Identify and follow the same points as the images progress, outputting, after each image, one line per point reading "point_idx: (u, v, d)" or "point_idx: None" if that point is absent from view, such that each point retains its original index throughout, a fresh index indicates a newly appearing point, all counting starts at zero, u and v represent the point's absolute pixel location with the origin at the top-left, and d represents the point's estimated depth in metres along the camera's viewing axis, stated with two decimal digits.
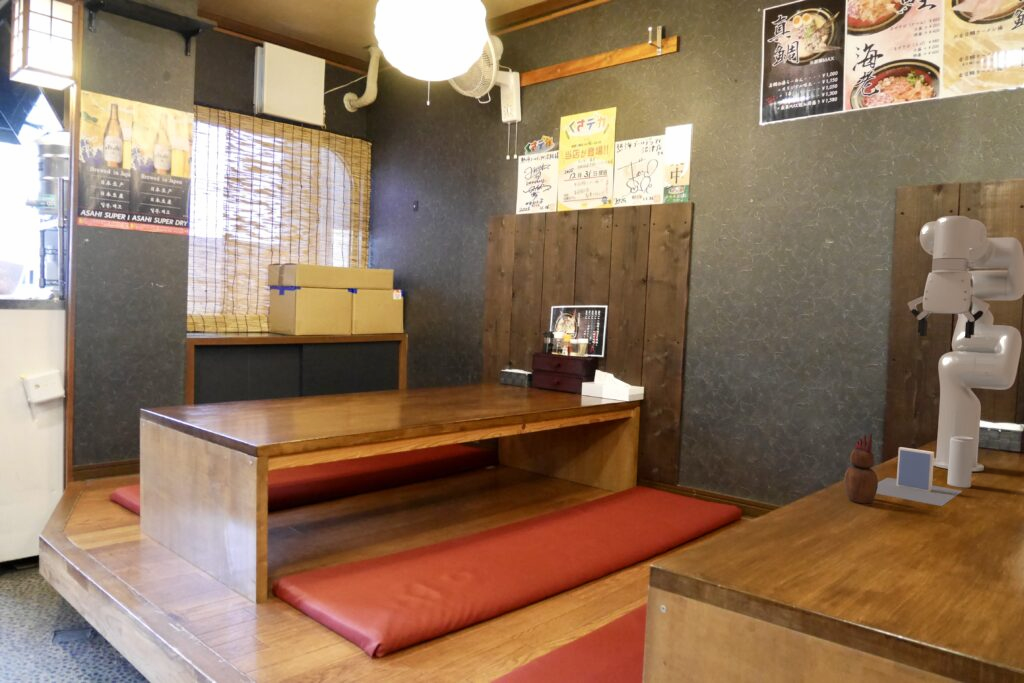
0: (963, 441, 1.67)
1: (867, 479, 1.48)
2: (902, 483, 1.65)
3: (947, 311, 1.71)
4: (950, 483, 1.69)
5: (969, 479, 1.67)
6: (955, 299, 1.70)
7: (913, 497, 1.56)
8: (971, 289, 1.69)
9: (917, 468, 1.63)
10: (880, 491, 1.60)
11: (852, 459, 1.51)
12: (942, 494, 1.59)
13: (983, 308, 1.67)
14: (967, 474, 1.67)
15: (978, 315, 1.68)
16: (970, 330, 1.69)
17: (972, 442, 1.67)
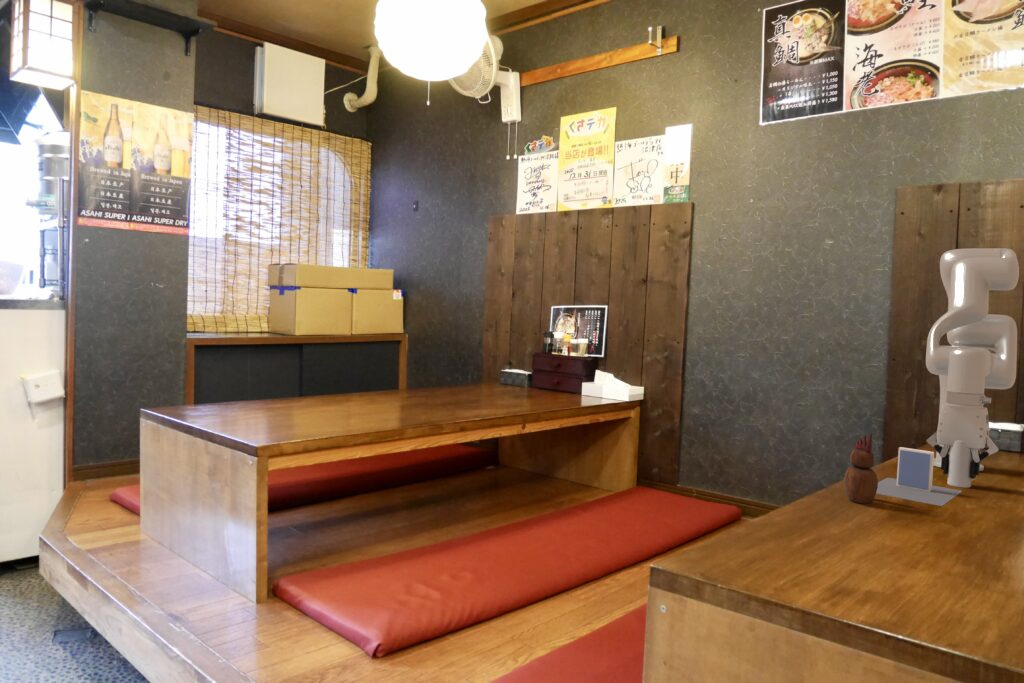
0: None
1: (867, 479, 1.48)
2: (902, 483, 1.65)
3: None
4: (950, 483, 1.69)
5: (969, 479, 1.67)
6: (970, 435, 1.66)
7: (913, 497, 1.56)
8: (987, 425, 1.65)
9: (917, 468, 1.63)
10: (880, 491, 1.60)
11: (852, 459, 1.51)
12: (942, 494, 1.59)
13: (990, 451, 1.64)
14: (967, 474, 1.67)
15: (983, 456, 1.65)
16: (975, 470, 1.66)
17: None
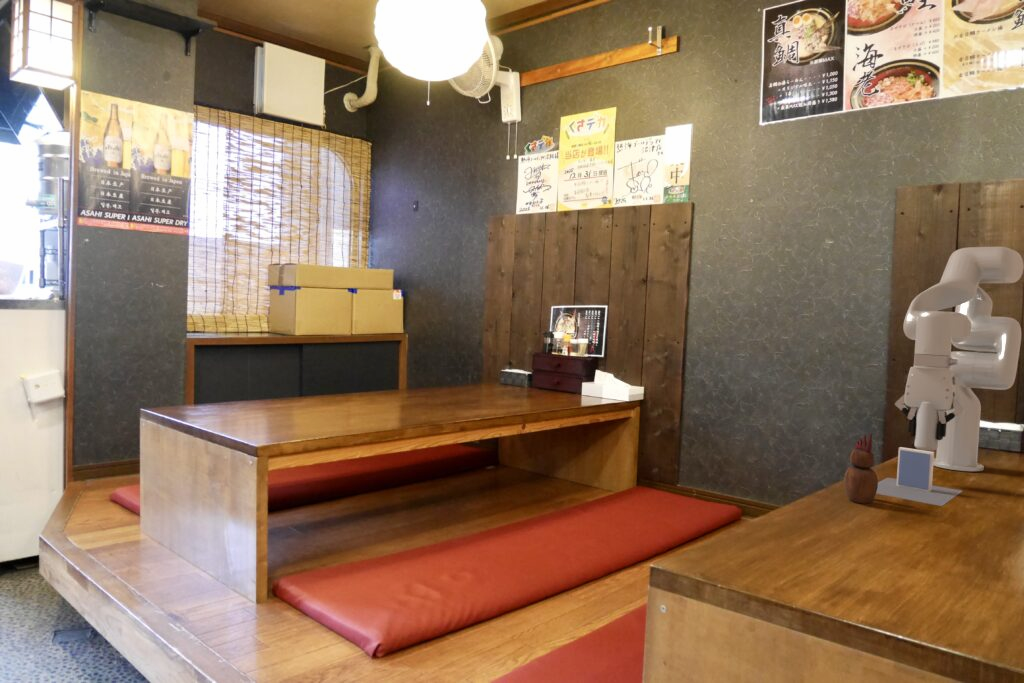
0: (930, 403, 1.68)
1: (867, 479, 1.48)
2: (902, 483, 1.65)
3: None
4: (917, 445, 1.70)
5: (935, 441, 1.68)
6: (937, 396, 1.67)
7: (913, 497, 1.56)
8: (953, 387, 1.66)
9: (917, 468, 1.63)
10: (880, 491, 1.60)
11: (852, 459, 1.51)
12: (942, 494, 1.59)
13: (956, 412, 1.65)
14: (934, 436, 1.68)
15: (949, 417, 1.66)
16: (942, 432, 1.67)
17: None
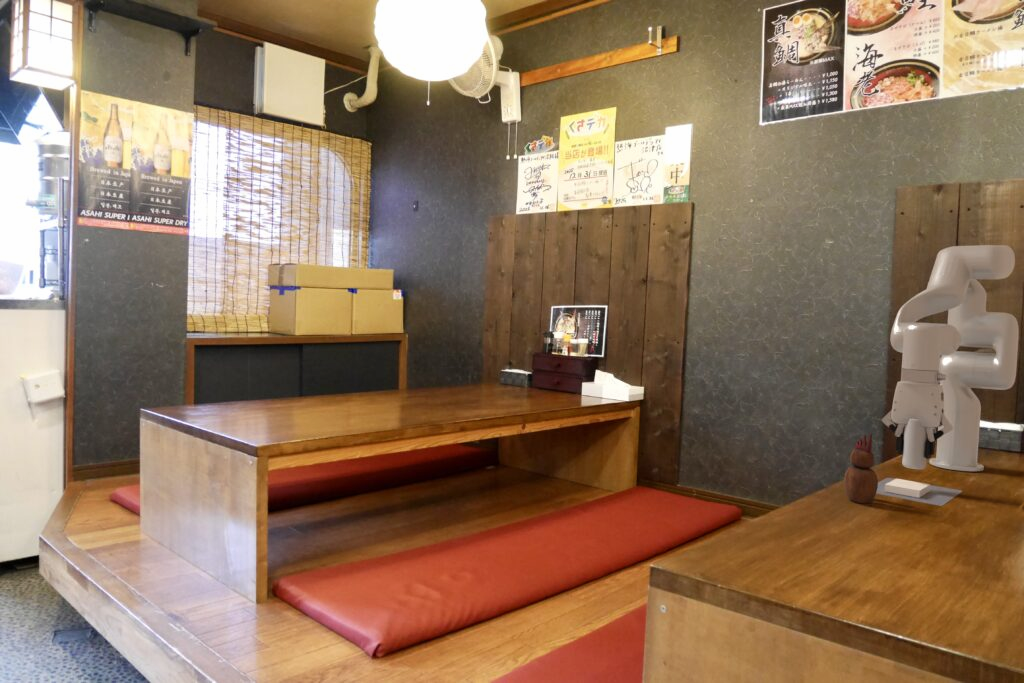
0: (917, 420, 1.61)
1: (867, 479, 1.48)
2: None
3: None
4: (905, 463, 1.63)
5: (924, 459, 1.61)
6: (925, 413, 1.60)
7: (913, 497, 1.56)
8: (942, 403, 1.59)
9: None
10: (880, 491, 1.60)
11: (852, 459, 1.51)
12: (942, 494, 1.59)
13: (945, 430, 1.58)
14: (922, 454, 1.61)
15: (938, 435, 1.59)
16: (930, 450, 1.60)
17: None
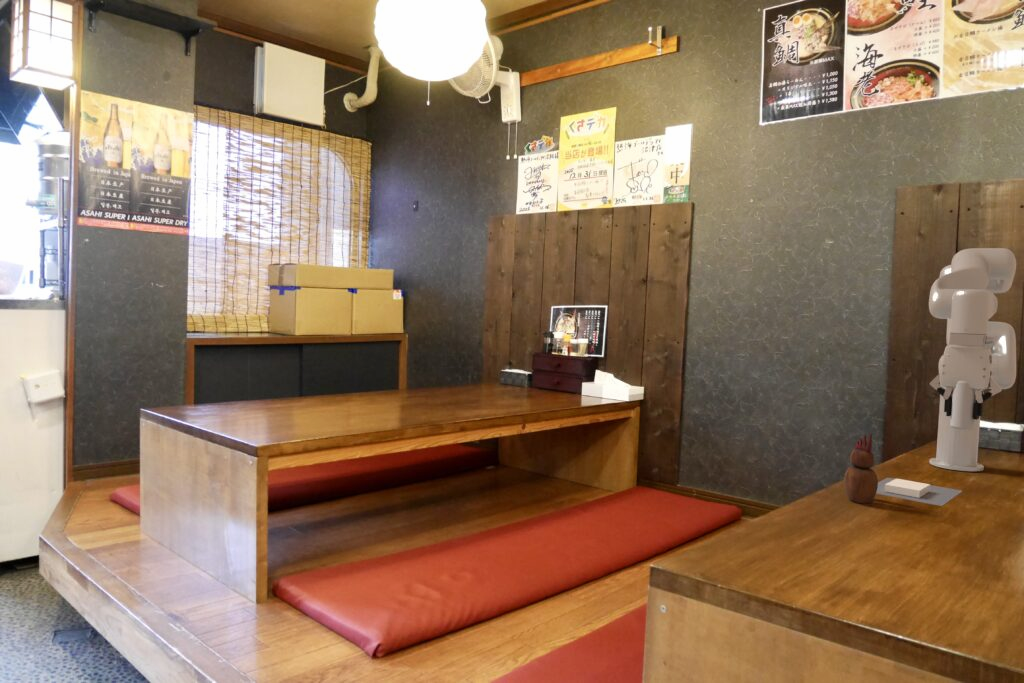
0: (966, 382, 1.66)
1: (867, 479, 1.48)
2: None
3: None
4: (953, 425, 1.69)
5: (972, 420, 1.67)
6: (974, 376, 1.65)
7: (913, 497, 1.56)
8: (990, 365, 1.64)
9: None
10: (880, 491, 1.60)
11: (852, 459, 1.51)
12: (942, 494, 1.59)
13: (994, 391, 1.64)
14: (970, 415, 1.66)
15: (986, 396, 1.65)
16: (978, 411, 1.66)
17: None
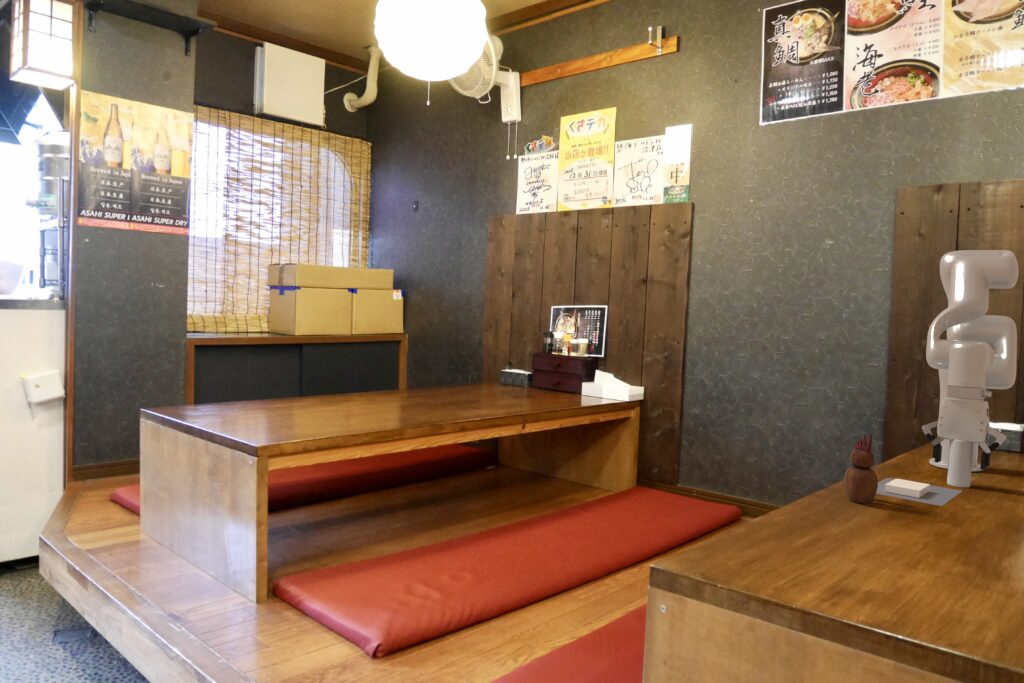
0: (963, 441, 1.67)
1: (867, 479, 1.48)
2: None
3: None
4: (950, 483, 1.69)
5: (969, 479, 1.67)
6: (971, 429, 1.66)
7: (913, 497, 1.56)
8: (987, 419, 1.65)
9: None
10: (880, 491, 1.60)
11: (852, 459, 1.51)
12: (942, 494, 1.59)
13: (999, 440, 1.63)
14: (967, 474, 1.67)
15: (994, 447, 1.64)
16: (986, 461, 1.65)
17: None
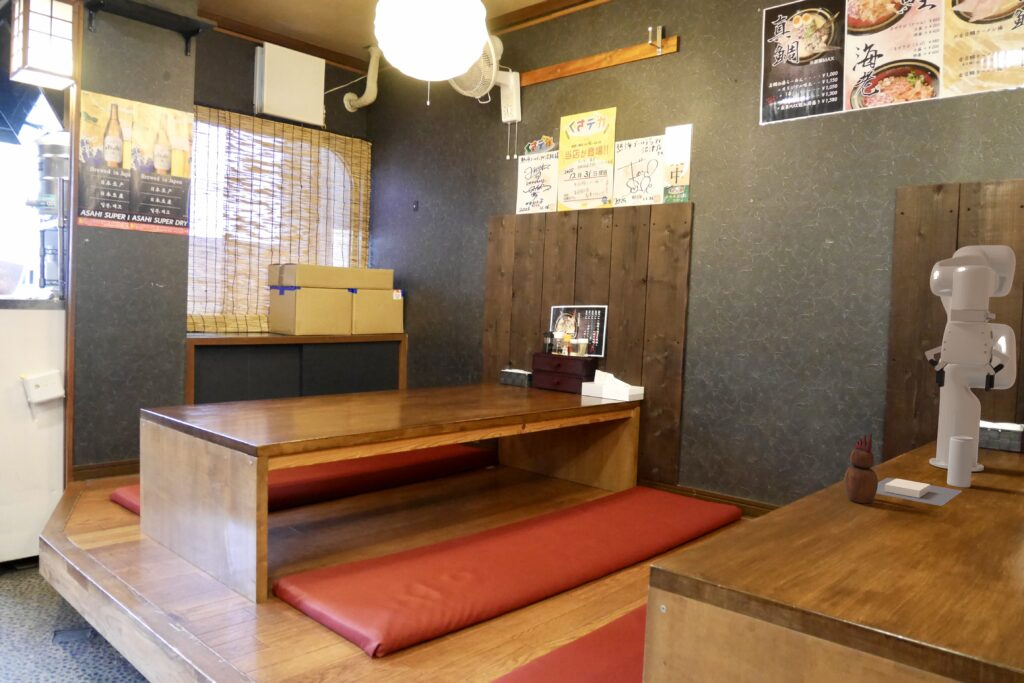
0: (963, 441, 1.67)
1: (867, 479, 1.48)
2: None
3: (966, 363, 1.67)
4: (950, 483, 1.69)
5: (969, 479, 1.67)
6: (975, 351, 1.66)
7: (913, 497, 1.56)
8: (991, 341, 1.65)
9: None
10: (880, 491, 1.60)
11: (852, 459, 1.51)
12: (942, 494, 1.59)
13: (1004, 361, 1.63)
14: (967, 474, 1.67)
15: (999, 368, 1.64)
16: (990, 383, 1.65)
17: (971, 442, 1.67)
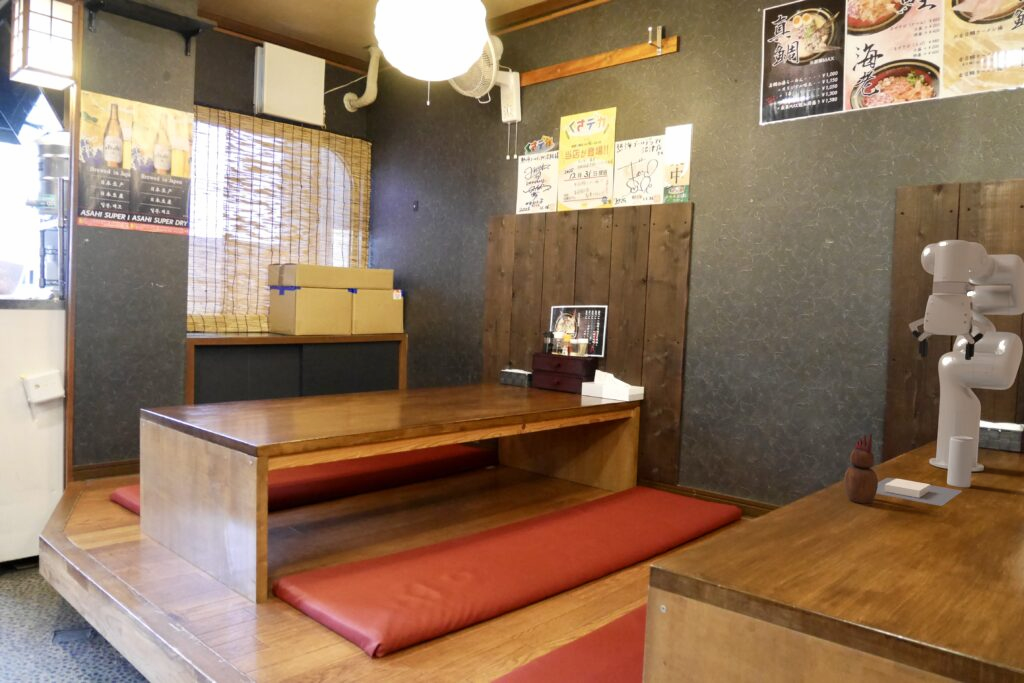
0: (963, 441, 1.67)
1: (867, 479, 1.48)
2: None
3: (948, 333, 1.75)
4: (950, 483, 1.69)
5: (969, 479, 1.67)
6: (955, 322, 1.74)
7: (913, 497, 1.56)
8: (971, 312, 1.73)
9: None
10: (880, 491, 1.60)
11: (852, 459, 1.51)
12: (942, 494, 1.59)
13: (983, 331, 1.71)
14: (967, 474, 1.67)
15: (978, 337, 1.72)
16: (970, 352, 1.73)
17: (971, 442, 1.67)
